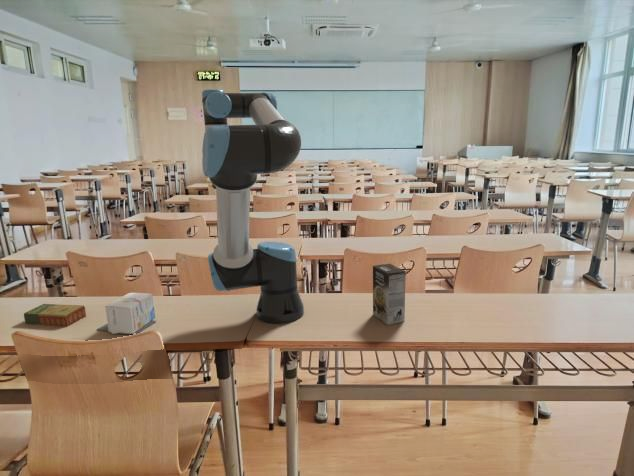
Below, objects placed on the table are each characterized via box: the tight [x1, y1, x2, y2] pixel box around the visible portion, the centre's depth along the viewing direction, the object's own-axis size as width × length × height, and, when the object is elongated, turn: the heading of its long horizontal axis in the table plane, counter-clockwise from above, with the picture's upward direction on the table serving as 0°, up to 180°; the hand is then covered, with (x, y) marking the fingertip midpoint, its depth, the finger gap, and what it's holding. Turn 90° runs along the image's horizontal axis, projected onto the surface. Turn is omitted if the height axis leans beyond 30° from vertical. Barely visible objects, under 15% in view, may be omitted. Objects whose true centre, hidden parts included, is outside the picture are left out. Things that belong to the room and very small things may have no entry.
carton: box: [23, 303, 87, 327], centre depth 138 cm, size 8×16×4 cm, turn 79°
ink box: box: [105, 292, 156, 335], centre depth 129 cm, size 9×8×13 cm
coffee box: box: [372, 263, 407, 326], centre depth 129 cm, size 9×6×16 cm
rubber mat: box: [96, 320, 156, 335], centre depth 131 cm, size 14×9×1 cm
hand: (222, 207), depth 149 cm, fingers closed
